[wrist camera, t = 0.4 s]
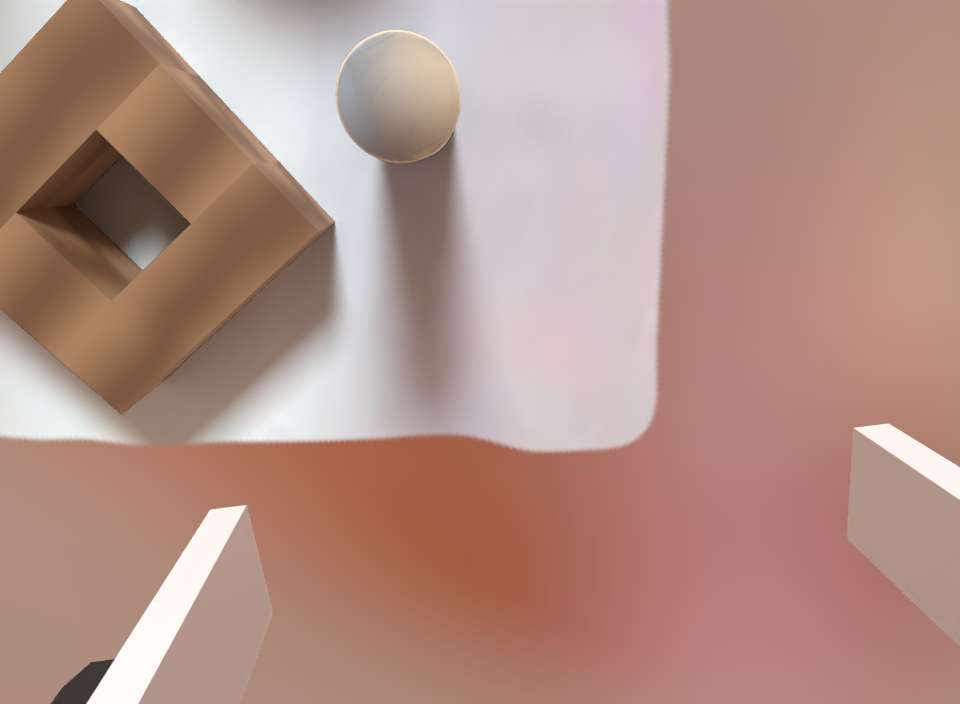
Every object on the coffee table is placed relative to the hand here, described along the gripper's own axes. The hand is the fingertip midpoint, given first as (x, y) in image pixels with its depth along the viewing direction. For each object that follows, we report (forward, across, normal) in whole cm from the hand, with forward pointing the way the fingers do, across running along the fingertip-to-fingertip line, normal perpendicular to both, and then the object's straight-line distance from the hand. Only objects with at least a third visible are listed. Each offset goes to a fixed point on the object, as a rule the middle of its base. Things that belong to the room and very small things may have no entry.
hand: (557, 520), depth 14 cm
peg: (+25, -3, +10) cm, 27 cm away
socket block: (+25, -18, +6) cm, 31 cm away
